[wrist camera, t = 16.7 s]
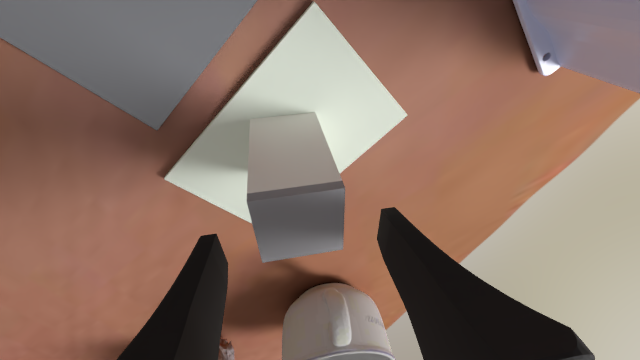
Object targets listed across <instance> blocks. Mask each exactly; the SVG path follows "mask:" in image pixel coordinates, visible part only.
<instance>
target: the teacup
mask: <svg viewBox="0 0 640 360" xmlns="http://www.w3.org/2000/svg"><path fill="white" fill-rule="evenodd" d="M282 360H396V359H395V357H394V355H393V354H392V351H391V347H390V344H389V340H388V337H387V334H386V330H385V327H384V324H383V321H382V318H381V316H380V313H379V311H378V308H377V306H376V305H375V303H374V301H373V300H372V299H371V298H370V297H369V296H368V295H367V294H365V293H364V292H362V291H360V290H357V289H355V288H354V287H352V286H349V285H346V284H342V283H328V284H322V285H318V286H315V287H313V288H311V289H309V290H307V291H306V292H304V293H303V294H302V295H301V296H300V297H299V298H298V299H297V300H296V301H295V302H294V303H293V304H292V305H291V306H290V307H289V309H288V311H287V313H286V315H285V318H284V322H283V334H282Z"/></svg>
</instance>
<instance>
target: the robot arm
mask: <svg viewBox="0 0 640 360" xmlns="http://www.w3.org/2000/svg"><path fill="white" fill-rule="evenodd" d="M513 3H514V5H515V8H516V11H517V14H518V17H519V19H520V22H521V25H522V28H523V30H524V33H525V36H526V39H527V41H528V44H529V47H530V50H531V52H532V55H533V58H534V61H535V63H536V66H537V69H538V72H539V73H540V74H541V75H544V76H547V75H550V74H551V73H553V72H554V71H555V70H557V69H558V68H559V67H564V68H567V69H570V70H573V71H575V72H578V73H581V74H584V75H587V76H590V77H593V78H596V79H599V80H602V81H605V82H608V83H611V84H613V85H616V86H619V87H622V88H625V89H628V90H631V91H634V92H637V93H640V0H513ZM545 54H546V55H545ZM544 55H545V57H544V58H543V56H544ZM377 241H378V244H379V247H380V250H381V253H382V256H383V259H384V262H385V264H386V266H387V268H388V271H389V273H390V275H391V277H392V279H393V281H394V284H395V286H396V288H397V290H398V292H399V294H400V297H401V299H402V301H403V303H404V305H405V308H406V310H407V312H408V315H409V318H410V320H411V323H412V326H413V329H414V332H415V334H416V338H417V341H418V343H419V347H420V350H421V353H422V355H423V359H424V360H595V356H594V355H593V353H592V352H591V351H590V350H589V349H588V348H587V346H586V345H585V344H584V343H583V342H582V340H581V339H580V338H579V337H578V336H577V335H576V334H575V332H574V331H573V330H572V329H571V328H569V327H567V326H565V325H563V324H561V323H559V322H557V321H555V320H553V319H551V318H549V317H547V316H545V315H543V314H541V313H539V312H537V311H535V310H533V309H531V308H529V307H527V306H525V305H523V304H522V303H520V302H518V301H516V300H514V299H513V298H511V297H509V296H507V295H505V294H504V293H502V292H500V291H499V290H497V289H496V288H494V287H492V286H491V285H489V284H487V283H486V282H484V281H483V280H481V279H480V278H478V277H477V276H475V275H474V274H472V273H471V272H469V271H468V270H467V269H465V268H464V267H462V266H461V265H460V264H458V263H457V262H456V261H454V260H453V259H452V258H451V257H449V256H448V255H447V254H446V253H444V252H443V251H442V250H441V249H439V248H438V247H437V246H436V245H435V244H434V243H432V242H431V241H430V240H429V239H428V238H427V237H426V236H425V235H423V234H422V233H421V232H420V231H419V230H418V229H417V228H416V227H415V226H414V225H413V224H412V223H411V222H409V221H408V220H407V219H406V218H405V217H404V216H403V215H402V214H401V213H400V212H399V211H398V210H397V209H396V208H395V207H392V208H385V209H381V215H380V222H379V229H378V235H377ZM227 285H228V262H227V259H226V257H225V254H224V252H223V249H222V247H221V244H220V242H219V239H218V237H217V234H211V235H204V236H201V237H200V238H199V240H198V242H197V244H196V245H195V247H194V249H193V251H192V253H191V255H190V256H189V258H188V260H187V262H186V263H185V265H184V267H183V269H182V270H181V272H180V274H179V275H178V277H177V279H176V280H175V282H174V283H173V285H172V287H171V288H170V290H169V291H168V293H167V294H166V296H165V297H164V299H163V300H162V302H161V303H160V305H159V306H158V308H157V309H156V310H155V312H154V313H153V315H152V316H151V317H150V319H149V320H148V321H147V323H146V324H145V325H144V327H143V328H142V329H141V330H140V332H139V333H138V334H137V336H136V337H135V338H134V339H133V341H132V342H131V343H130V344H129V345H128V347H127V348H126V349H125V350H124V351H123V353H122V354H121V355H120V356H119V357H118V358H117V360H218V358H219V345H220V337H221V330H222V323H223V315H224V308H225V301H226V294H227Z"/></svg>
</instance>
